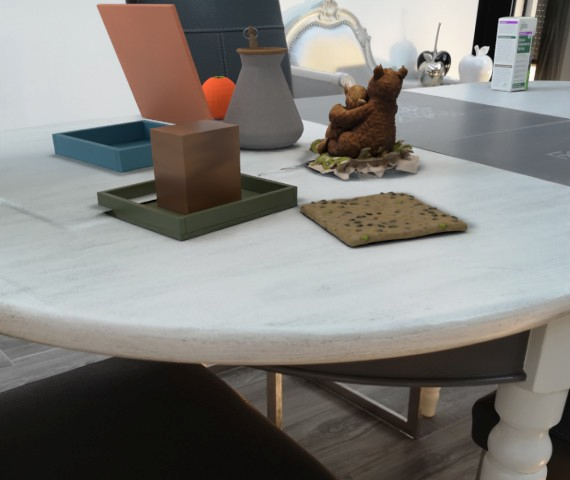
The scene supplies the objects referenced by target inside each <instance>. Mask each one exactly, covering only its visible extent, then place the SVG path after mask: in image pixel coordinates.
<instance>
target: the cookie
mask: <svg viewBox="0 0 570 480" xmlns="http://www.w3.org/2000/svg"><path fill="white" fill-rule="evenodd" d="M299 210H300V212H301V213H303V214H304V215H305V216H307V217H308V218H310V219H311V220H312V221H314V222H315V223H317V224H318V225H320V226H321V227H322V228H323V229H324V230H326V231H327V232H329V233H331V234H332V235H334V236H335V237H337V238H338V239H339V240H341V241H342V242H344V243H345V244H346V245H347V246H349V247H356V246H361V245H366V244H370V243H373V242H374V243H375V242H382V241H389V240H390V241H391V240H401V239H402V240H403V239H410V238H411V239H412V238H416V237H422V236H427V235H431V234H436V233H443V232H455V231H456V232H457V231H458V232H459V231H468V223H466V222H464V221H463V220H461V219H459V218H458V217H457V216H454V215H451V214H449V213H446V212H444V211H442V210H440V209H438V208H437V207H436V206H431V205H429V204H426V203H425V202H423V201H421V200H419V199H418V198H415V196H414V195H411V194H408V193H405V192H394V191H388V192H386V193H385V192H382V191H381V192H380V193H376V194H370V195H366V196H356V197H353V198H339V199H338V198H337V199H336V198H335V199H329V200H327V199H321V200H319V201H311V202H310V203H306V204H305V203H304V204H302V205H300V207H299Z"/></svg>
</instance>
